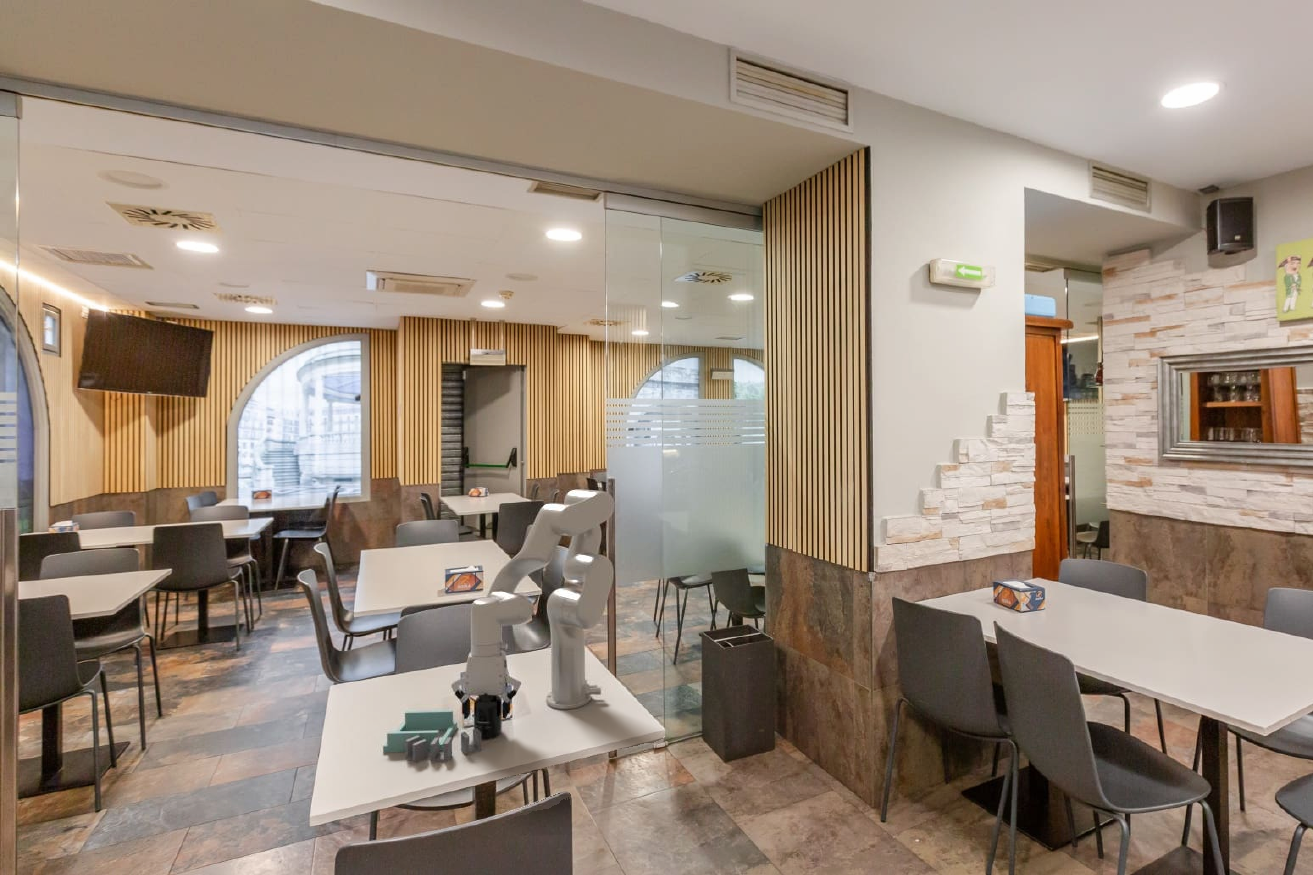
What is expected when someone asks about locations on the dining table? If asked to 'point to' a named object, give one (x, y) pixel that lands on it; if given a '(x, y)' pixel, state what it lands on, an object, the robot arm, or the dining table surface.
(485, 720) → the supplement bottle
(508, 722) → the dining table surface
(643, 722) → the dining table surface
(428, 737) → the end holder
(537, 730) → the dining table surface
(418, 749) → the clip
